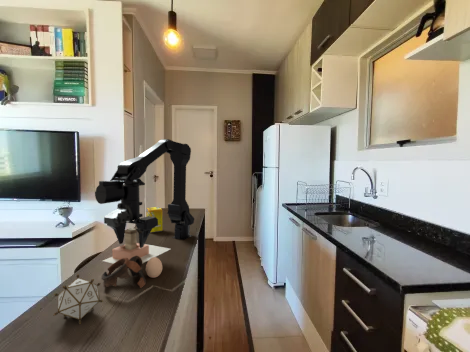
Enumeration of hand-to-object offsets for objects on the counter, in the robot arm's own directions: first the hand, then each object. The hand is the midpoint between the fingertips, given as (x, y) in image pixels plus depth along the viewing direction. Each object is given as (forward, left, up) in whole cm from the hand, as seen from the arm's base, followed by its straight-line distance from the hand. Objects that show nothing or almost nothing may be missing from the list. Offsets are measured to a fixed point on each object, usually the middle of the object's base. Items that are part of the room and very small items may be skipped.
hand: (131, 245), depth 82 cm
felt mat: (-2, +1, -4) cm, 5 cm away
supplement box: (-27, -14, -4) cm, 31 cm away
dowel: (0, 0, -4) cm, 4 cm away
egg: (+8, +17, -4) cm, 19 cm away
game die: (+28, +15, -4) cm, 32 cm away
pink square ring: (0, 0, -4) cm, 4 cm away
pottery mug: (+14, +14, -4) cm, 20 cm away
